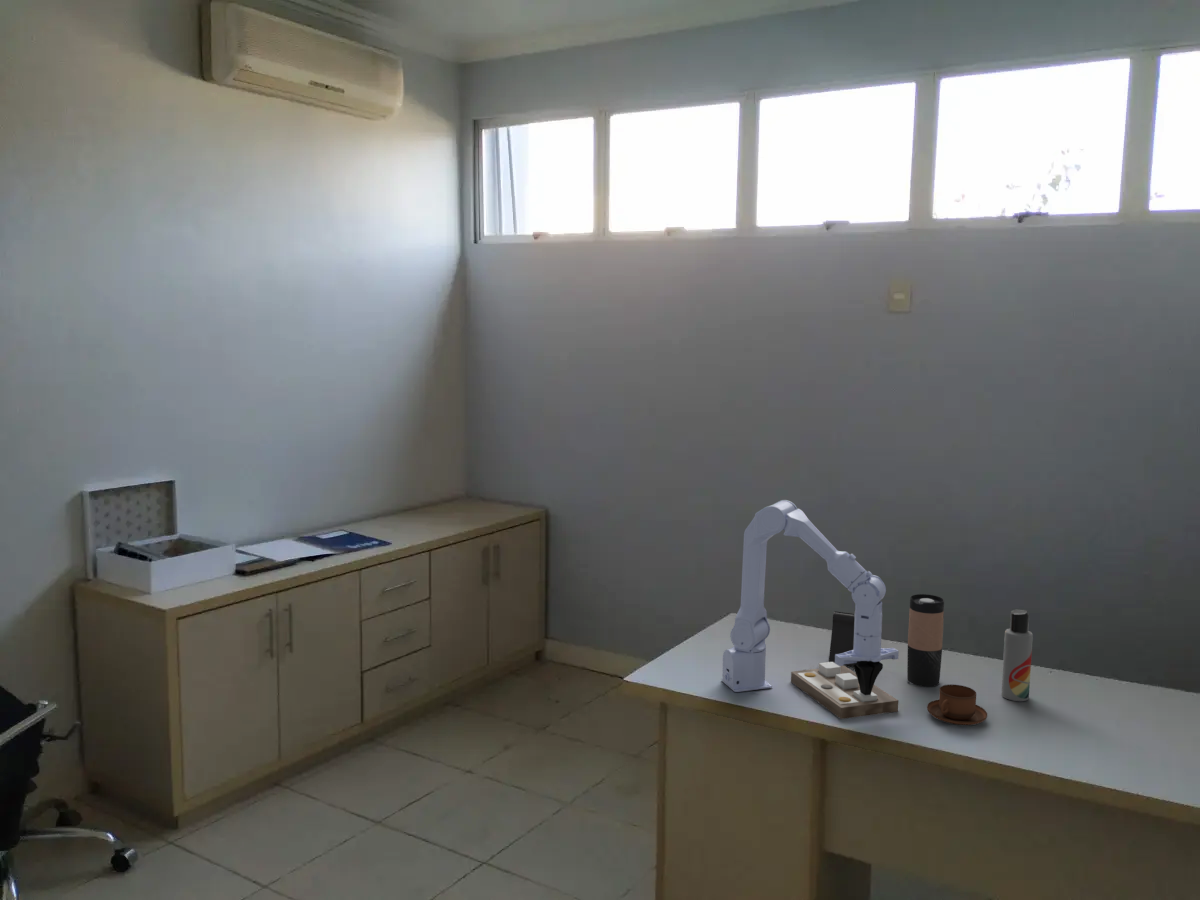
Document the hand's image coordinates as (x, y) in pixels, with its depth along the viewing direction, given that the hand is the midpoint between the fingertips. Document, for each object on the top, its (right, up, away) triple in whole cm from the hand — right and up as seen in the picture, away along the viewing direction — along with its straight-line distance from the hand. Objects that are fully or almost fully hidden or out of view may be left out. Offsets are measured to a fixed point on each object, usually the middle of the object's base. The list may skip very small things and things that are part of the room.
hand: (865, 693), depth 204 cm
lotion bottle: (+36, -3, +7) cm, 36 cm away
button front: (0, -3, 0) cm, 3 cm away
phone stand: (+3, 0, +30) cm, 31 cm away
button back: (-4, 0, +15) cm, 15 cm away
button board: (-3, -3, +7) cm, 8 cm away
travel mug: (+18, -2, +16) cm, 24 cm away
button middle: (-2, -1, +7) cm, 8 cm away
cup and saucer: (+18, -4, -4) cm, 19 cm away
